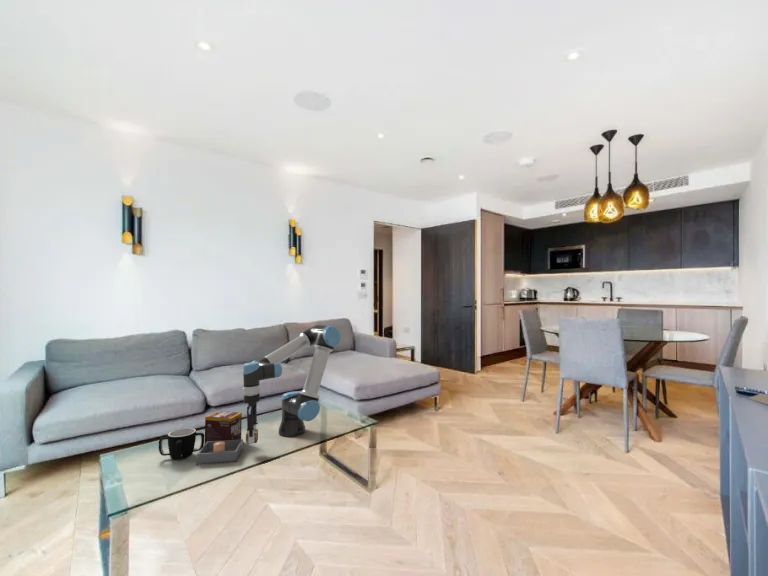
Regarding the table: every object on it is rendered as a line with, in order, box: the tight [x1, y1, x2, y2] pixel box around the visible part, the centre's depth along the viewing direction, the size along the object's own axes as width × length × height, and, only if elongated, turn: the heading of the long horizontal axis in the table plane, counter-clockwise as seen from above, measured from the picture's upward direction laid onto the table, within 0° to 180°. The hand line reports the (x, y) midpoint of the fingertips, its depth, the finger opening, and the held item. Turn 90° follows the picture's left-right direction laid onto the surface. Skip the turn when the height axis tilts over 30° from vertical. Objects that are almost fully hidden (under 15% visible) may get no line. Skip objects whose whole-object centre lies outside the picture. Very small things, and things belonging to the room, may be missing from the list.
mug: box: [158, 427, 205, 461], centre depth 177 cm, size 16×16×12 cm
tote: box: [196, 438, 244, 466], centre depth 177 cm, size 17×15×5 cm
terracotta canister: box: [213, 441, 225, 453], centre depth 174 cm, size 5×5×7 cm
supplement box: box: [203, 410, 243, 446], centre depth 194 cm, size 10×15×16 cm
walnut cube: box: [245, 428, 259, 445], centre depth 180 cm, size 5×5×5 cm
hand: (252, 440), depth 180 cm, fingers closed on walnut cube, 5 cm apart
